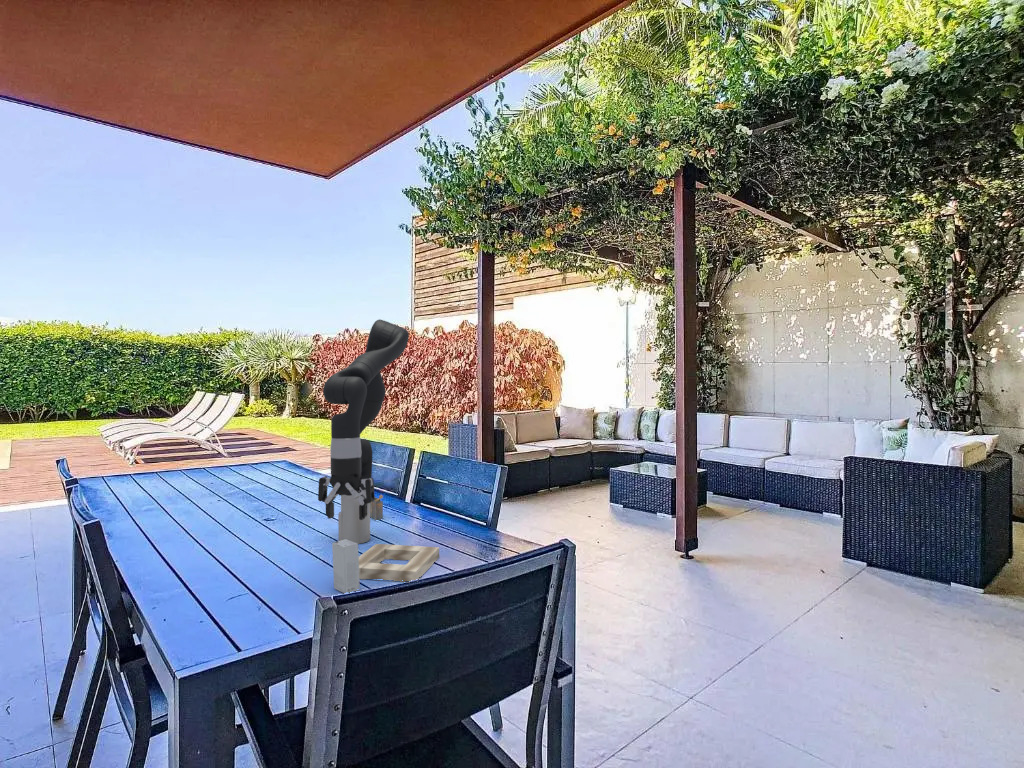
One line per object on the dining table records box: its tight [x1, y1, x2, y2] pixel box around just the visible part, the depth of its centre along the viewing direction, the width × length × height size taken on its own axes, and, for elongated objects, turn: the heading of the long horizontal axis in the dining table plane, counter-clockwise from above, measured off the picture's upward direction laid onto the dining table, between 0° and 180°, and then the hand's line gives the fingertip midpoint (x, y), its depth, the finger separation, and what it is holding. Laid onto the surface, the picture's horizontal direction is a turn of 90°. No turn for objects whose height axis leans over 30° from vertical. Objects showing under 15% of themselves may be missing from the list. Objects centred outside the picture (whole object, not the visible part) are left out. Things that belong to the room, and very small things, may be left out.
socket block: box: [359, 543, 440, 583], centre depth 164 cm, size 20×21×3 cm
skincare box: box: [331, 539, 361, 594], centre depth 147 cm, size 6×4×12 cm
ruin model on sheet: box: [370, 494, 384, 521], centre depth 219 cm, size 11×3×10 cm, turn 33°
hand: (346, 518), depth 147 cm, fingers open, 8 cm apart
